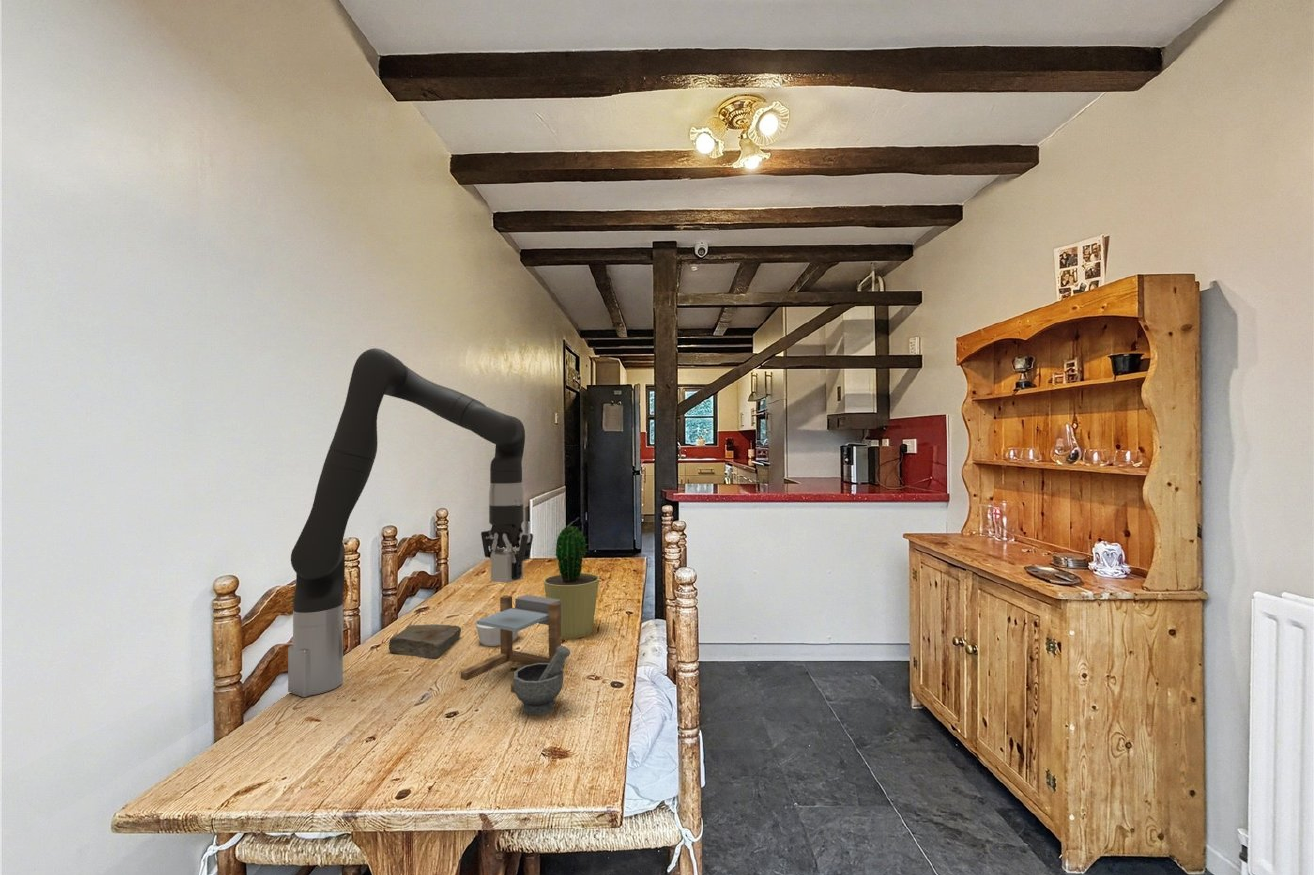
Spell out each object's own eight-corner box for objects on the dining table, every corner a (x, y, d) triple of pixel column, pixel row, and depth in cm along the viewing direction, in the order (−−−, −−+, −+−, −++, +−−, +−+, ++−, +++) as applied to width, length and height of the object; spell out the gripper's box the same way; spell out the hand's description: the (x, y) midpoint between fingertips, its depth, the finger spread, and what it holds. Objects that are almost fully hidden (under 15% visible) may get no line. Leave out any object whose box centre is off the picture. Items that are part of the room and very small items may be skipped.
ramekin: (467, 645, 140) (467, 625, 141) (493, 632, 151) (493, 613, 151) (503, 650, 137) (503, 629, 137) (527, 636, 147) (527, 616, 148)
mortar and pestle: (505, 719, 101) (505, 654, 101) (521, 696, 110) (521, 637, 110) (564, 720, 100) (564, 655, 100) (576, 697, 109) (575, 638, 110)
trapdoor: (517, 641, 115) (517, 618, 115) (476, 633, 121) (476, 611, 121) (563, 621, 129) (563, 600, 129) (524, 614, 135) (524, 594, 135)
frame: (518, 693, 112) (517, 620, 112) (460, 678, 120) (460, 610, 120) (563, 667, 125) (562, 602, 125) (508, 655, 133) (508, 594, 133)
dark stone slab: (438, 660, 131) (437, 643, 132) (379, 660, 132) (379, 643, 132) (465, 637, 148) (465, 621, 148) (413, 637, 149) (413, 621, 149)
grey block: (507, 583, 118) (507, 555, 118) (490, 580, 121) (490, 554, 121) (523, 578, 123) (522, 552, 123) (506, 576, 125) (506, 550, 125)
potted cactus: (576, 645, 139) (575, 529, 140) (532, 636, 147) (531, 526, 148) (610, 628, 152) (609, 522, 153) (568, 620, 160) (567, 519, 161)
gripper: (471, 503, 122) (471, 578, 122) (518, 505, 115) (519, 585, 115) (495, 500, 129) (495, 571, 128) (541, 502, 122) (542, 577, 121)
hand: (506, 577), depth 122 cm, fingers closed on grey block, 5 cm apart
